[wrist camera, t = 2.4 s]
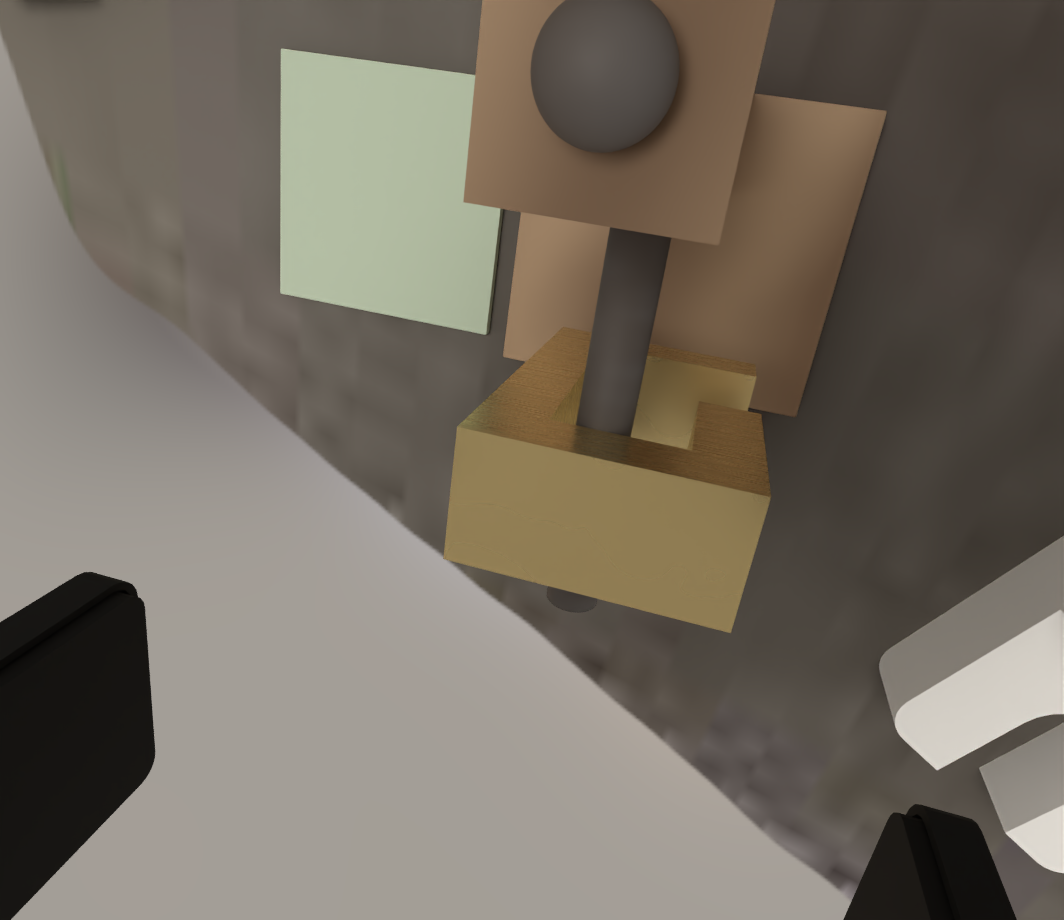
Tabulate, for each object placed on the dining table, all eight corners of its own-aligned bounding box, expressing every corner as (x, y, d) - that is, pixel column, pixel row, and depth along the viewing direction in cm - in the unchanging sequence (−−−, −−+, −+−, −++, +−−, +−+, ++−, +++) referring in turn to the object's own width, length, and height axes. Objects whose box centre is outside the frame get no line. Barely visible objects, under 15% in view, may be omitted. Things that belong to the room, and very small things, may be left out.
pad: (518, 81, 26) (515, 80, 26) (489, 332, 29) (486, 334, 29) (286, 50, 28) (281, 48, 27) (285, 291, 31) (280, 293, 31)
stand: (880, 113, 24) (1381, -76, 5) (778, 456, 28) (856, 985, 10) (547, 69, 26) (68, -181, 7) (505, 397, 30) (150, 748, 12)
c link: (755, 364, 22) (771, 497, 13) (731, 454, 24) (730, 632, 15) (563, 326, 23) (457, 427, 14) (549, 415, 25) (443, 558, 16)
